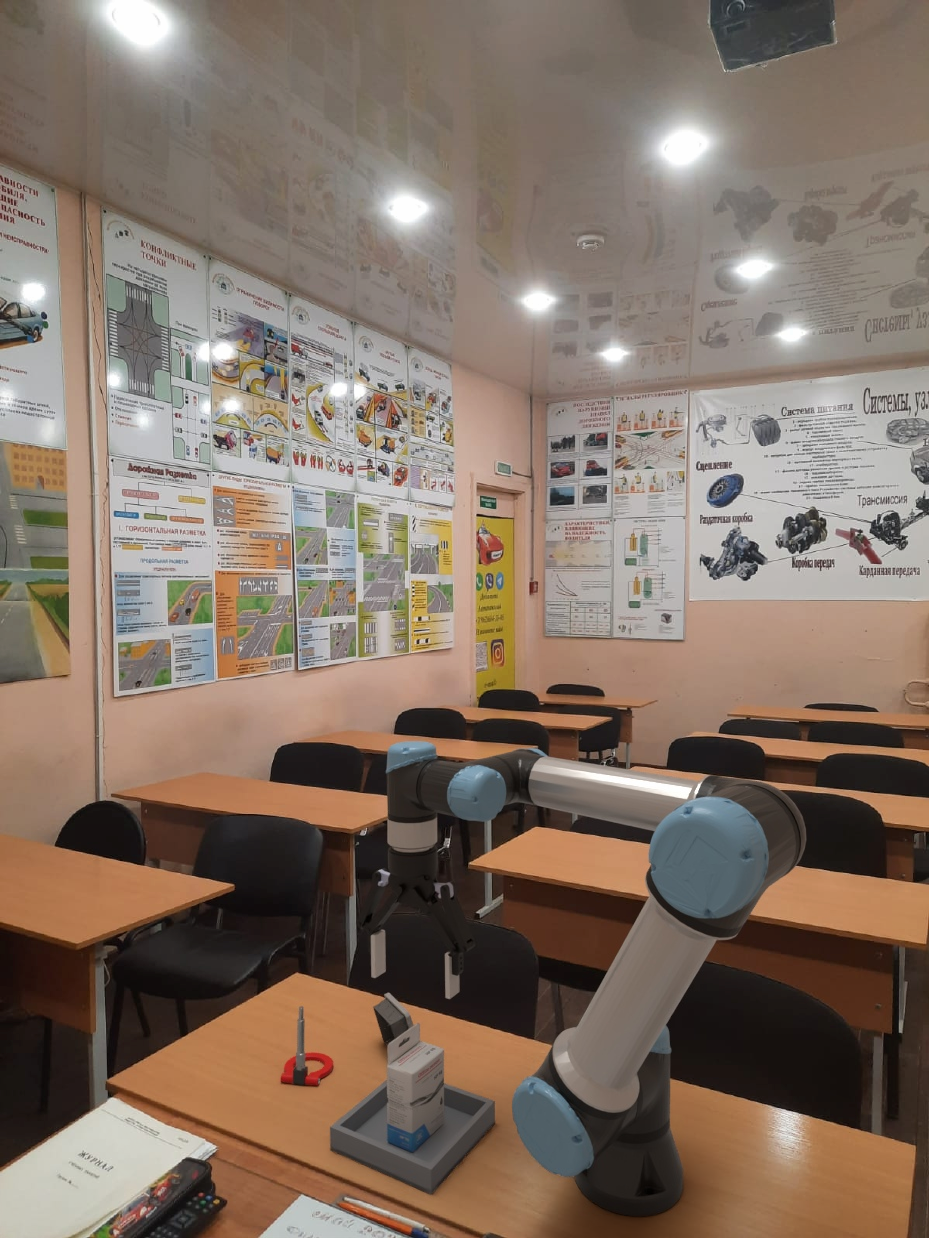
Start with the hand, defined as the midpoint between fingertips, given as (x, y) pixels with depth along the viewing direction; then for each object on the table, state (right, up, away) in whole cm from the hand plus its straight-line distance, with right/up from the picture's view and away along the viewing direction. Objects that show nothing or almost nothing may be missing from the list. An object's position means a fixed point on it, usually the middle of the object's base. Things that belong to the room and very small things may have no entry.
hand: (414, 984), depth 124 cm
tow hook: (-20, -24, +18) cm, 36 cm away
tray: (0, -23, +1) cm, 23 cm away
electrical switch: (-4, -23, +24) cm, 34 cm away
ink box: (0, -23, +1) cm, 23 cm away
